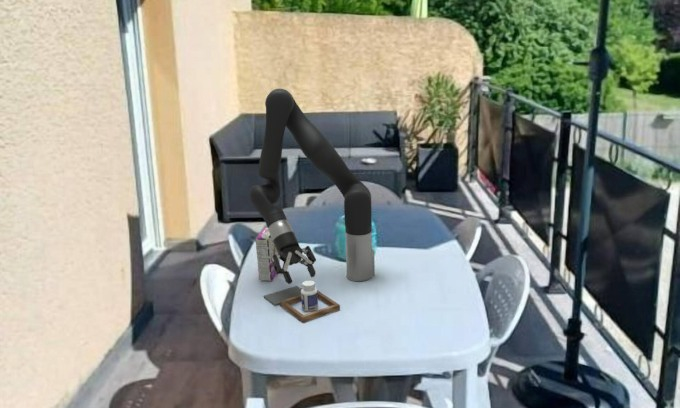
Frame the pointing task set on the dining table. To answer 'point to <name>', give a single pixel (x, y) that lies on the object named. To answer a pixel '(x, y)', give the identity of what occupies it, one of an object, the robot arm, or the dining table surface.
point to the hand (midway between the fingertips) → (302, 279)
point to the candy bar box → (265, 255)
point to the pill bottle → (309, 296)
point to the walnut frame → (303, 318)
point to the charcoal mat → (283, 295)
